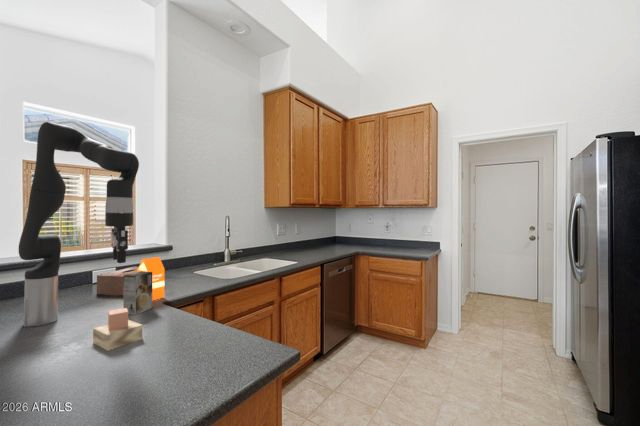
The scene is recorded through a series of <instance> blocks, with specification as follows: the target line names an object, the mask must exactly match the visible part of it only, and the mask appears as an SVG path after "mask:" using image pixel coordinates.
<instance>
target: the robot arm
mask: <svg viewBox="0 0 640 426" xmlns="http://www.w3.org/2000/svg"><path fill="white" fill-rule="evenodd" d="M36 141H37V142H36V160H35V167H34V173H33V180H32V183H31V187H30V193H29V199H28V200H29V201H28V207H27V213H26V218H25V220H24V221H25V222H24V226H23V229H22V231H21V234H20V237H19V238H20V239H19V244H18V255H19V257H20V259H21V260H24V261H34V260H35V261H36V260H42V261H41V262H40V263H39V264H37V265H35V266H34V267H31V268H28V269H27V270H25V272H24V300H23V327H24V328H27V327H38V326H44V325H47V324H52V323H54V322H56V321H58V320H59V270H60V266H61V253H62V252H61V251H62V240H61V239H60V237H59V236H58V234H54V233H51V234H49V233H48V234H47V233H45V234H44V233H43V234H40V232H41V230H42V228H43V226H44V224H45V223H46V222H47V221H48V220H49V219H50V218H52V216H54V214H55V213H56V212H57V211H58V210H60V208H61V207H62V206H63V204H64V201H65V197H66V196H65V195H66V189H67V188H66V187H67V186H66V183H65V180H64V179H63V177H62V176H61V174H60V172H59V170H58V169H57V167H56V166H57V165H56V163H55V151H61V152H67V153H68V152H69V153H70V152H71V153H79V154H81V155H82V157H84V159H87V160H88V161H90V162H93V163H95V164H97V165H98V166H99V167H100V168H101V169H103V170H106V171H109V172H116V173H120V175H119V177H118V178H113V179H112V178H111V179H109V180H108V181H107V182H106V200H105V208H104V209H105V212H104V213H105V216H104V217H105V218H104V219H105V221H104V222H105V227H113V228H112V229H111V232H110V236H111V244H110V245H111V247H112V259H113V260H114V261H115V260H116V263H117V264H124V263H126V261H127V260H126V259H127V257H126V256H127V255H126V254H127V250H128V249H129V245H128V244H129V243H128V242H129V238H128V237H129V231H128V230H127V229H126V227H132V226H133V225H134V201H133V200H134V199H133V186H134V183H135V180H136V177H137V174H138V170H139V167H140V163H139V158H138V157H137V156H136V154H135V153H132V152H129V151H128V152H127V151H124V150H121V149H115V148H113V147H112V146H110V145H108V144H105V143H103V142H100V141H98V140H96V139H92V138H90V137H88V136H87V135H85V134H84V133H83V132H82V131H80V130H78V129H77V128H75V127H72V126H68V125H64V124H59V123H54V122H51V121H44V122H43V123H42V124H41V125H40V126H39V129H38V133H37V140H36Z"/></svg>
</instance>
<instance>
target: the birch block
mask: <svg viewBox="0 0 640 426" xmlns="http://www.w3.org/2000/svg"><path fill="white" fill-rule="evenodd" d="M92 329H93V330H92V331H93V333H92V335H93V336H92V344H94V345H96V346H98V347H99V348H102V349H104V350H105V351H107V352H108V351H112V350H114V348H115V349H117V347H118V348H120V347H119V346H121V347H123V346H126V345H129V344H132V343H134V342H137V341H139V340H143V324H141V323H139V322H136V321H134V320H131V319H129V318H128V327H126V328H121V329H116V330H111V331H109V327H108V324H104V325H100V326H97V327H93V328H92ZM122 345H123V346H122ZM111 349H112V350H111Z"/></svg>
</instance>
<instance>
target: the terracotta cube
mask: <svg viewBox="0 0 640 426" xmlns="http://www.w3.org/2000/svg"><path fill="white" fill-rule="evenodd" d="M107 313H108V315H107V316H108V318H107V319H108V320H107V323H108V327H109V331H111V330H116V329H121V328H126V327H128V319H129V314H128V310H127V308H124V307H123V308H122V307H121V308H118V309H111V310H108V312H107Z"/></svg>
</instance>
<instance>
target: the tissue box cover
mask: <svg viewBox="0 0 640 426" xmlns="http://www.w3.org/2000/svg"><path fill="white" fill-rule="evenodd" d="M139 266H140V265H139ZM139 266H135V265H134V266H130V267H127V268H122V269H118V270H114V271H110V272H106V273H102V274H101V273H100V274H98V275H96V295H97V294H105V295H104V296H117V295H123V296H124V292H123V291H124V288H123V275H127V274H131V273H136V272H137V270H138V268H139Z"/></svg>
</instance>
